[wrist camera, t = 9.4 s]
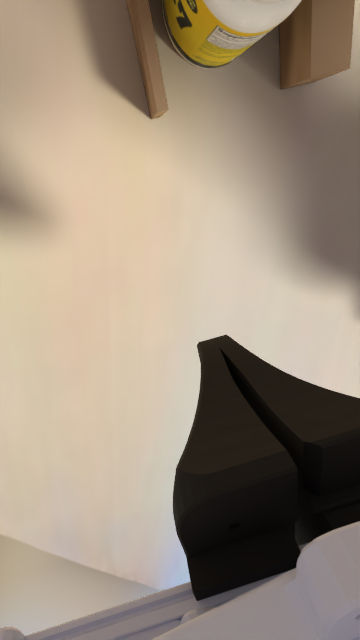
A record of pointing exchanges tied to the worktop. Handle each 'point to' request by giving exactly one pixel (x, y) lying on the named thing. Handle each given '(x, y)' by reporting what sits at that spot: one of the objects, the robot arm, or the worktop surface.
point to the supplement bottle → (220, 27)
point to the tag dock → (295, 45)
